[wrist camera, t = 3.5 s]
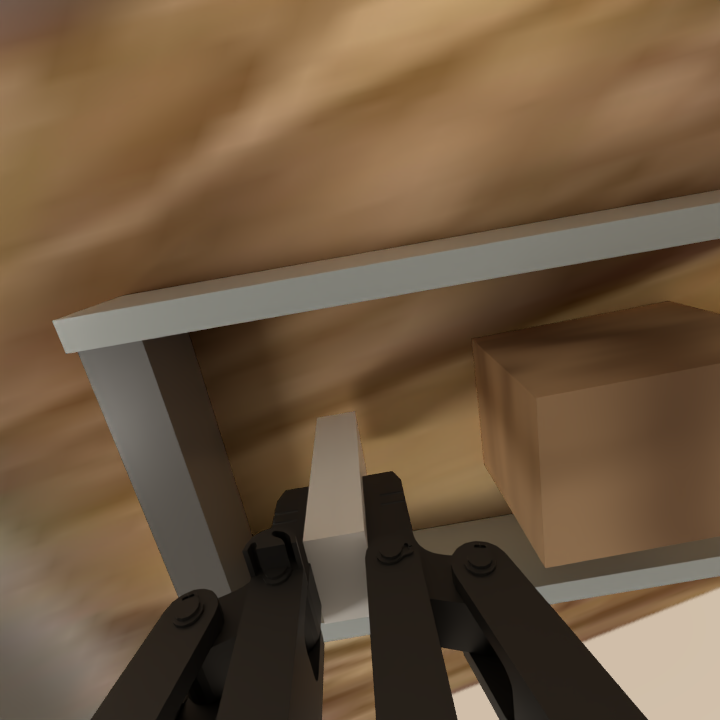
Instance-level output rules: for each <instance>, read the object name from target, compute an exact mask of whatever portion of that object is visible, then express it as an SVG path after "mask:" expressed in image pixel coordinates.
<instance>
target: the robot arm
mask: <svg viewBox="0 0 720 720" xmlns="http://www.w3.org/2000/svg"><path fill="white" fill-rule="evenodd" d="M272 524H273V526H272V527H271V528H270V529H267V530H264V531H262V532H260V533H258V534H257V535H255V536H253V537H252V538H251V539H250V540H249V541H248V542H247V543H246V545H245V547H244V549H243V551H242V552H243V555H244V558H245V562H246V565H247V568H248V571H249V574H250V577H251V579H250V582H249V583H247V584H246V585H245V586H243V587H241V588H239V589H238V590H236V591H233V592H231V593H229V594H227V595H224V596H222V597H220V598H218V597H217V595H216V594H215V593H214V592H213V591H212V590H208V589H196V590H192V591H190V592H188V593H185V594H183V595H182V596H180V597H179V598H178V599H176V600H175V601H174V602H172V603H171V605H170V606H169V607H168V608H167V609H166V610H165V611H164V613H163V614H162V616H161V617H160V619H159V620H158V622H157V623H156V625H155V626H154V628H153V629H152V630H151V632H150V633H149V635H148V636H147V638H146V639H145V641H144V642H143V644H142V645H141V647H140V648H139V650H138V651H137V652H136V654H135V655H134V657H133V658H132V660H131V661H130V663H129V664H128V666H127V667H126V669H125V670H124V672H123V673H122V674H121V676H120V677H119V679H118V680H117V682H116V683H115V685H114V686H113V688H112V689H111V691H110V692H109V694H108V695H107V697H106V698H105V699H104V701H103V702H102V704H101V705H100V707H99V708H98V710H97V711H96V713H95V714H94V716H93V717H92V719H91V720H322V700H323V671H324V640H323V635H322V631H321V612H322V615H323V619H324V623H325V624H328V623H334V622H340V621H346V620H352V619H358V618H364V617H369V623H370V637H371V652H372V666H373V681H374V695H375V710H376V720H457V715H456V711H455V707H454V702H453V698H452V694H451V689H450V685H449V681H448V676H447V672H446V668H445V663H444V659H443V655H442V650H441V647H442V648H448V649H453V650H459V651H463V653H464V656H465V657H466V659H467V661H468V663H469V665H470V667H471V668H472V670H473V672H474V674H475V676H476V678H477V679H478V681H479V683H480V685H481V686H482V689H483V690H484V692H485V694H486V696H487V697H488V699H489V701H490V703H491V705H492V706H493V708H494V710H495V712H496V714H497V716H498V718H499V720H648V719H647V718H646V717H645V716H644V714H643V713H642V712H641V711H640V710H639V709H638V707H637V706H636V705H635V704H634V703H633V702H632V700H631V699H630V698H629V697H628V696H627V695H626V693H625V692H624V691H623V690H622V689H621V688H620V686H619V685H618V684H617V683H616V682H615V681H614V679H613V678H612V677H611V676H610V675H609V673H608V672H607V671H606V670H605V669H604V668H603V667H602V665H601V664H600V663H599V662H598V661H597V659H596V658H595V657H594V656H593V655H592V654H591V652H590V651H589V650H588V649H587V648H586V647H585V645H584V644H583V643H582V642H581V641H580V639H579V638H578V637H577V636H576V635H575V634H574V632H573V631H572V630H571V629H570V628H569V627H568V625H567V624H566V623H565V622H564V621H563V620H562V618H561V617H560V616H559V615H558V614H557V613H556V611H555V610H554V609H553V608H552V607H551V606H550V604H549V603H548V602H547V601H546V600H545V598H544V597H543V596H542V595H541V594H540V593H539V591H538V590H537V589H536V588H535V587H534V586H533V584H532V583H531V582H530V581H529V580H528V579H527V577H526V576H525V575H524V574H523V573H522V572H521V570H520V569H519V568H518V567H517V566H516V565H515V563H514V562H513V561H512V560H511V559H510V557H509V556H508V555H507V554H506V553H505V552H504V551H503V550H502V549H500V548H499V547H498V546H496V545H494V544H491V543H488V542H483V541H473V542H468V543H464V544H463V545H461V546H459V547H458V548H457V549H456V550H455V551H454V553H453V554H452V555H443V554H437V553H433V552H430V551H428V550H426V549H424V548H423V547H422V546H420V545H419V544H418V542H417V541H416V540H415V537H414V535H413V530H412V526H411V522H410V517H409V513H408V509H407V504H406V500H405V496H404V492H403V487H402V483H401V479H400V478H399V477H398V476H397V475H396V474H395V473H394V472H393V471H390V472H384V473H379V474H373V475H367V472H366V466H365V461H364V455H363V450H362V445H361V440H360V434H359V429H358V424H357V419H356V414H355V411H353V412H347V413H342V414H336V415H330V416H324V417H318V418H317V423H316V431H315V440H314V449H313V457H312V466H311V475H310V483H309V487H303V488H297V489H292V490H286V491H285V492H284V493H283V495H282V496H281V497H280V499H279V500H278V501H277V505H276V509H275V516H274V518H273V523H272Z"/></svg>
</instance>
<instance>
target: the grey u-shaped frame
mask: <svg viewBox="0 0 720 720" xmlns="http://www.w3.org/2000/svg"><path fill="white" fill-rule="evenodd" d="M714 239H720V190H715V191H709V192H704V193H698V194H693V195H687V196H681V197H676V198H670V199H664V200H659V201H653V202H648V203H642V204H636V205H631V206H625V207H619V208H614V209H608V210H603V211H597V212H591V213H586V214H580V215H574V216H569V217H563V218H557V219H552V220H546V221H541V222H535V223H529V224H524V225H518V226H512V227H507V228H501V229H496V230H490V231H484V232H479V233H473V234H467V235H462V236H456V237H451V238H445V239H439V240H434V241H428V242H422V243H417V244H411V245H406V246H400V247H394V248H389V249H383V250H377V251H372V252H366V253H360V254H355V255H349V256H344V257H338V258H332V259H327V260H321V261H315V262H310V263H304V264H299V265H293V266H287V267H282V268H276V269H270V270H265V271H259V272H254V273H248V274H242V275H237V276H231V277H225V278H220V279H214V280H209V281H203V282H197V283H192V284H186V285H180V286H175V287H169V288H163V289H158V290H152V291H147V292H141V293H135V294H130V295H124V296H120V297H117V298H114V299H112V300H109V301H106V302H103V303H101V304H98V305H95V306H92V307H89V308H87V309H84V310H81V311H78V312H75V313H73V314H70V315H67V316H64V317H62V318H59V319H56V320H53V321H52V322H53V324H54V326H55V329H56V331H57V334H58V336H59V338H60V341H61V343H62V345H63V348H64V350H65V353H66V354H68V353H74V352H78V354H79V357H80V359H81V362H82V364H83V366H84V369H85V371H86V374H87V376H88V379H89V381H90V383H91V386H92V388H93V391H94V393H95V396H96V398H97V400H98V403H99V405H100V408H101V410H102V413H103V415H104V417H105V420H106V422H107V425H108V427H109V430H110V432H111V434H112V437H113V439H114V442H115V444H116V447H117V449H118V451H119V454H120V456H121V459H122V461H123V464H124V466H125V468H126V471H127V473H128V476H129V478H130V481H131V483H132V485H133V488H134V490H135V493H136V495H137V498H138V500H139V502H140V505H141V507H142V510H143V512H144V515H145V517H146V520H147V522H148V524H149V527H150V529H151V532H152V534H153V537H154V539H155V541H156V544H157V546H158V549H159V551H160V554H161V556H162V558H163V561H164V563H165V566H166V568H167V571H168V573H169V575H170V578H171V580H172V583H173V585H174V588H175V590H176V592H177V595H178V597H180V596H182V595H183V594H185V593H188V592H190V591H192V590H196V589H208V590H212V591H213V592H214V593H215V594H216V595H217V597H218V598H220V597H222V596H224V595H227V594H229V593H231V592H233V591H236V590H238V589H239V588H241V587H243V586H245V585H246V584H247V583H249V582H250V579H251V577H250V574H249V571H248V568H247V565H246V562H245V558H244V555H243V552H242V551H243V549H244V547H245V545H246V543H247V542H248V541H249V540H250V539H251V538H252V537H253V536H252V533H251V530H250V527H249V524H248V521H247V517H246V514H245V511H244V508H243V505H242V501H241V498H240V495H239V492H238V489H237V486H236V482H235V479H234V476H233V473H232V470H231V466H230V463H229V460H228V457H227V454H226V451H225V447H224V444H223V441H222V438H221V435H220V431H219V428H218V425H217V422H216V419H215V416H214V412H213V409H212V406H211V403H210V400H209V397H208V393H207V390H206V387H205V384H204V381H203V377H202V374H201V371H200V368H199V365H198V362H197V358H196V355H195V352H194V349H193V346H192V342H191V339H190V336H189V333H188V332H193V331H198V330H204V329H210V328H215V327H221V326H227V325H232V324H238V323H244V322H249V321H255V320H261V319H266V318H272V317H278V316H283V315H289V314H295V313H300V312H306V311H312V310H317V309H323V308H329V307H334V306H340V305H346V304H351V303H357V302H363V301H368V300H374V299H380V298H385V297H391V296H397V295H402V294H408V293H414V292H419V291H425V290H431V289H436V288H442V287H448V286H453V285H459V284H465V283H470V282H476V281H482V280H487V279H493V278H499V277H504V276H510V275H516V274H521V273H527V272H533V271H538V270H544V269H550V268H555V267H561V266H567V265H572V264H578V263H584V262H589V261H595V260H601V259H606V258H612V257H618V256H623V255H629V254H635V253H640V252H646V251H652V250H657V249H663V248H669V247H675V246H680V245H686V244H692V243H697V242H703V241H709V240H714ZM413 535H414V537H415V540H416V541H417V542H418V544H419V545H420V546H422V547H423V548H424V549H426V550H428V551H430V552H433V553H437V554H443V555H452V554H453V553H454V551H455V550H456V549H457V548H458V547H459V546H461V545H463V544H464V543H468V542H473V541H483V542H488V543H491V544H494V545H496V546H498V547H499V548H500V549H502V550H503V551H504V552H505V553H506V554H507V555H508V556H509V557H510V559H511V560H512V561H513V562H514V563H515V565H516V566H517V567H518V568H519V569H520V570H521V572H522V573H523V574H524V575H525V576H526V577H527V579H528V580H529V581H530V582H531V583H532V584H533V586H534V587H535V588H536V589H537V590H538V591H539V593H540V594H541V595H542V596H543V597H544V598H545V600H546V601H547V602H548V603H549V604H556V603H561V602H567V601H573V600H579V599H585V598H591V597H597V596H603V595H609V594H615V593H621V592H627V591H633V590H639V589H645V588H651V587H657V586H663V585H669V584H675V583H681V582H687V581H693V580H699V579H705V578H711V577H717V576H720V536H719V537H714V538H708V539H703V540H697V541H692V542H686V543H681V544H675V545H670V546H664V547H659V548H653V549H648V550H642V551H637V552H631V553H626V554H620V555H615V556H609V557H604V558H598V559H593V560H587V561H582V562H576V563H571V564H566V565H560V566H555V567H549V568H545V567H544V565H543V564H542V562H541V560H540V558H539V557H538V555H537V553H536V552H535V550H534V548H533V547H532V545H531V543H530V541H529V540H528V538H527V536H526V535H525V533H524V531H523V530H522V528H521V526H520V524H519V523H518V521H517V519H516V518H515V516H514V514H510V515H504V516H498V517H492V518H486V519H480V520H474V521H469V522H463V523H457V524H451V525H445V526H439V527H433V528H427V529H422V530H416V531H413ZM321 631H322V635H323V640H324V642H329V641H335V640H341V639H347V638H353V637H358V636H364V635H370V623H369V617H364V618H358V619H352V620H346V621H340V622H334V623H328V624H325V623H324V619H323V615H322V612H321Z"/></svg>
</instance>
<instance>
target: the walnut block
mask: <svg viewBox="0 0 720 720" xmlns="http://www.w3.org/2000/svg"><path fill="white" fill-rule="evenodd" d="M472 349H473V359H474V368H475V378H476V388H477V398H478V407H479V417H480V427H481V437H482V447H483V456H484V465H485V467H486V468H487V470H488V472H489V473H490V475H491V477H492V479H493V480H494V482H495V484H496V485H497V487H498V489H499V490H500V492H501V494H502V496H503V497H504V499H505V501H506V502H507V504H508V506H509V507H510V509H511V511H512V513H513V514H514V516H515V518H516V519H517V521H518V523H519V524H520V526H521V528H522V530H523V531H524V533H525V535H526V536H527V538H528V540H529V541H530V543H531V545H532V547H533V548H534V550H535V552H536V553H537V555H538V557H539V558H540V560H541V562H542V564H543V565H544V567H545V568H549V567H555V566H560V565H566V564H571V563H576V562H582V561H587V560H593V559H598V558H604V557H609V556H615V555H620V554H626V553H631V552H637V551H642V550H648V549H653V548H659V547H664V546H670V545H675V544H681V543H686V542H692V541H697V540H703V539H708V538H714V537H719V536H720V314H718V313H714V312H710V311H706V310H702V309H698V308H694V307H690V306H686V305H682V304H678V303H674V302H670V301H666V302H661V303H656V304H651V305H646V306H640V307H635V308H630V309H625V310H619V311H614V312H609V313H604V314H599V315H593V316H588V317H583V318H578V319H572V320H567V321H562V322H557V323H552V324H546V325H541V326H536V327H531V328H525V329H520V330H515V331H510V332H505V333H499V334H494V335H489V336H484V337H478V338H473V339H472Z"/></svg>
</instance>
